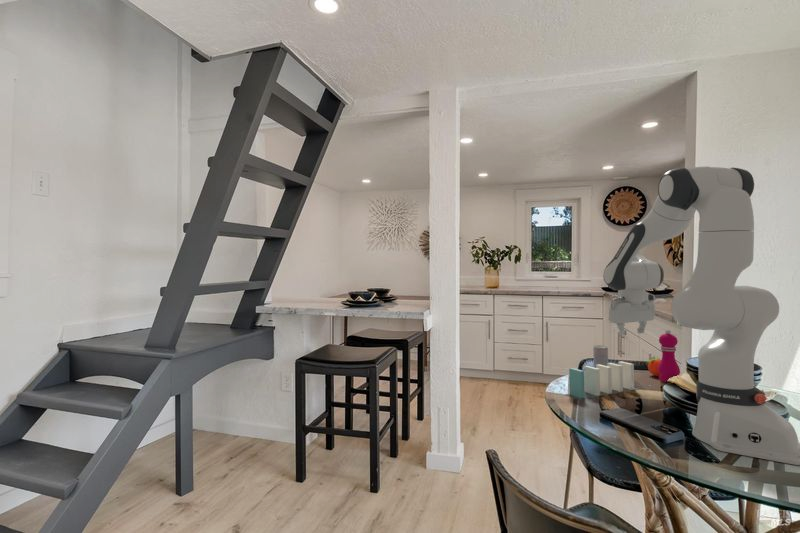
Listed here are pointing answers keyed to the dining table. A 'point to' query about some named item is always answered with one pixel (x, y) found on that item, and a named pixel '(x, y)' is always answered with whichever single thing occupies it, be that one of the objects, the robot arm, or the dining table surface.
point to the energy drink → (600, 355)
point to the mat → (588, 395)
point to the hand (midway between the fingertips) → (632, 334)
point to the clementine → (654, 366)
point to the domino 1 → (576, 382)
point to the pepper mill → (668, 357)
